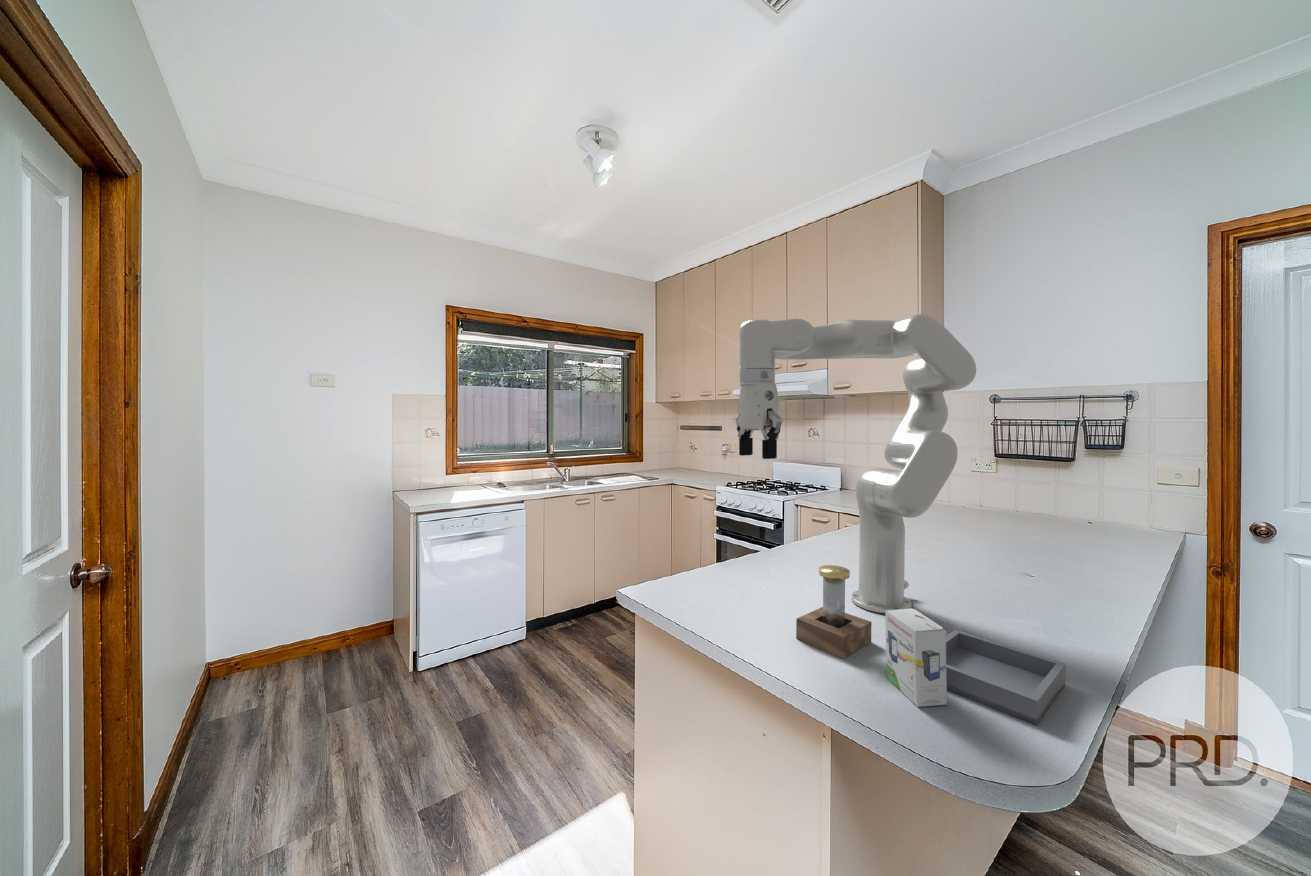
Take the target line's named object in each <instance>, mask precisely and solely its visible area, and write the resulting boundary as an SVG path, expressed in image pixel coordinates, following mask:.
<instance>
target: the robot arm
mask: <svg viewBox="0 0 1311 876" xmlns="http://www.w3.org/2000/svg"><path fill="white" fill-rule="evenodd" d="M739 327H740V328H739V387H740V389H739V399H738V400H739V401H738V416H737V417H736V418H735V423H736V431H737V437H738V447H739V448H738V455H739V456H752V455H753V454H754V453H753V451H754V450H753V448H754V447H753V445H754V442H753V441H754V439H753V438H754V437H752V435H753V432H754V431H760V433H761V434H762V437H763V439H761V443H762V444H761V445H762V446H761V447H762V448H761V453H762V455H761V457H762V458H761V459H763V460H773V459H775V460H777V458H778V454H777V453H778V452H777V451H778V440H779V435H780V434H781V428H782V423H783V418H782V417H781V416H780V404H779V403H780V402H779V400H780V399H779V393H778V387H777V384H776V360H784V361H785V360H788V361H789V360H796V361H798V360H801V361H802V360H841V359H899V358H905V357H911V356H916V355H918V356H919V357H917V358H914V359H912V360H910V361H909V362H908V363H907V364H906V365H905V367H904V369H903V372H902V380H903V384H904V387H905V389H906V391H907V396H908V406H907V410H906V411H905V413H904V415H903V417H902V419H901V421H900V422H899V424H898V425H897V427H896V429H894V432H893V433H892V434H891V436H890V437H889V439H888V441H887V442H886V445H885V448H884V459H885V460H886V462H887V463H888V465H891V466H892V467H894V468H896V469H900V470H902V471H900V470H895V469H890V468H883V467H881V468H880V467H875V468H870V469H867V470H866V471H864V472H862V474H861V475H860V476H859V477H858V479H857V481H856V485H855V496H856V501H857V502H856V503H857V507H858V508H857V509H858V515H859V517H858V518H859V542H858V543H859V545H858V546H859V547H858V549H859V552H858V554H859V555H858V561H859V562H858V590H855V591H854V592H852V593H851V601H852V602H853V603H854V604H855V605H856V606H858V607H860V608H862V609H864V610H867V611H871V612H873V613H880V614H885V615H886V612H885V611H886V610H898V609H913V608H912V601H911V600H909V599H908V597H905V589H908V588H909V586H910V584H909V582H908V581H907V580H905V558H906V556H905V554H906V553H905V552H906V551H905V550H906V547H905V546H906V527H905V521H904V518H907V519H908V518H912V519H913V518H917V517H920V516H922V515H924V513H926V512H927V511H928V510H929V509H930V508H931V506H932V504H933V503H934V501H935V500H936V499H937V497H938V495H939V494H940V492H941V491H942V489H943V488H944V486H945V484H946V482H947V481H948V479H949V477H950V476H951V474H952V472H953V470H954V468H955V466H956V465H957V460H958V447H957V443H956V442H955V439H954V438H953V437H952V436H951V435H949V434H948V433H946V432H944V431H943V429H944V428H945V426H946V424H947V421H948V418H949V410H948V405H947V402H946V399H945V396H944V393H943V392H947V391H956V390H961V389H964V388H966V387H967V386H969V385H970V384H971V383H973V381H974V379H976V375H977V364H976V361H975V359H974V357H973V355H971V353H970V351H968V350H967V349H966V348H965V347H964V345H962V344H961V342H960V341H959V340H958V339H957V338H956V337H955V336H954V335H953V333H951V332H950V330H948V329H947V328H946V327H945V326H944V325H943V324H942V323H941V322H939V320H937V319H935V318H934V317H932V316H930V315H928V314H923V313H919V314H914V315H911V316H907V317H903V318H901V319H893V320H888V319H887V320H885V319H884V320H883V319H882V320H881V319H877V320H876V319H875V320H873V319H846V320H841V321H836V322H834V323H833V322H832V323H830V324H829V323H828V324H826V325H821V326H813V325H812V324H811V323H810V322H809V321H807V320H806V319H802V318H788V319H782V320H780V319H779V320H768V319H751V320H747V321H744V322H742V323H741V325H740V326H739Z"/></svg>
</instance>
